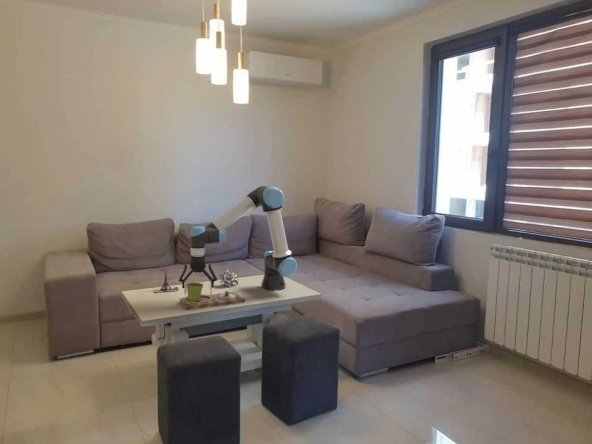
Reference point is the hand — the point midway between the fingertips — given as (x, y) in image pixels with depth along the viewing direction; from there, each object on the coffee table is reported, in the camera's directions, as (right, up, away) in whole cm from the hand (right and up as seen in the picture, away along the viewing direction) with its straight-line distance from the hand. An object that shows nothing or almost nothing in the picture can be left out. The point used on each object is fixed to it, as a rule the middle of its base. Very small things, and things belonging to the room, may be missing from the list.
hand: (198, 293), depth 250 cm
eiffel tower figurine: (-26, -3, +28) cm, 38 cm away
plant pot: (-2, -4, 0) cm, 4 cm away
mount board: (+7, -5, +5) cm, 10 cm away
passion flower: (+10, -1, +41) cm, 42 cm away
